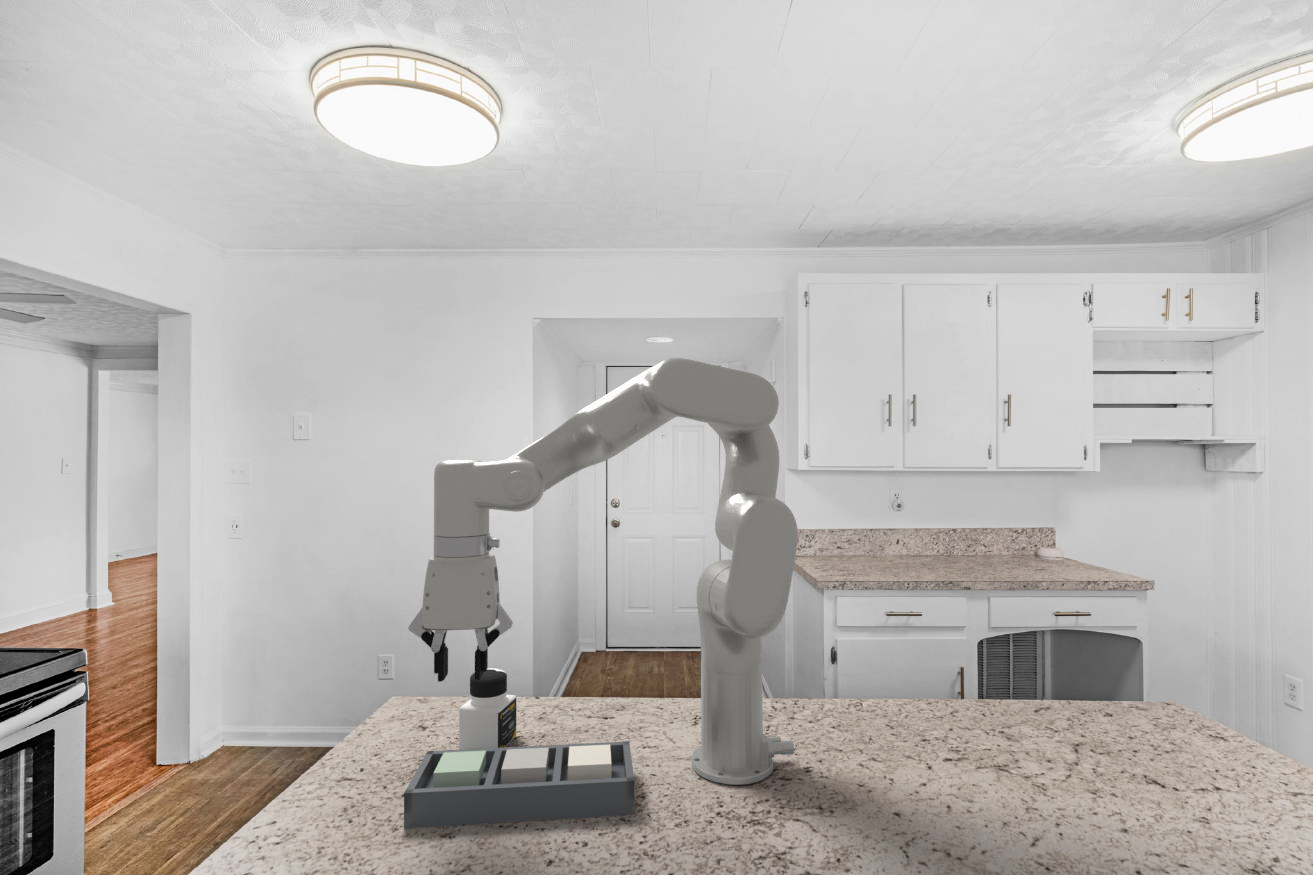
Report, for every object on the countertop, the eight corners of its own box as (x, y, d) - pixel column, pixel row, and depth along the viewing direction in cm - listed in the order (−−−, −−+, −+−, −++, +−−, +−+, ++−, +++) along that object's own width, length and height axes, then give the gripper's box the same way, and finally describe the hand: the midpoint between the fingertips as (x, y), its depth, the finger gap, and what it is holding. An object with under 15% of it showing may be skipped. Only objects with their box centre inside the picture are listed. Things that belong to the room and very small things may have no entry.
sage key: (486, 764, 94) (486, 750, 94) (478, 785, 88) (478, 770, 88) (443, 766, 93) (443, 752, 93) (433, 787, 87) (433, 772, 87)
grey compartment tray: (629, 771, 99) (629, 741, 99) (634, 814, 87) (634, 780, 87) (427, 781, 96) (427, 751, 96) (403, 828, 84) (404, 793, 84)
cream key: (610, 758, 95) (610, 744, 95) (611, 778, 89) (611, 763, 89) (569, 760, 95) (569, 746, 95) (567, 780, 89) (567, 765, 89)
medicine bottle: (498, 755, 104) (498, 680, 104) (458, 751, 105) (458, 677, 106) (517, 736, 111) (517, 666, 111) (478, 733, 112) (478, 663, 113)
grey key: (548, 761, 94) (548, 747, 95) (545, 781, 88) (545, 767, 89) (507, 763, 94) (507, 749, 94) (501, 784, 88) (501, 769, 88)
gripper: (524, 542, 96) (524, 666, 95) (407, 544, 94) (406, 671, 94) (519, 550, 88) (518, 684, 88) (391, 552, 87) (390, 689, 86)
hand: (461, 676), depth 91 cm, fingers open, 4 cm apart
